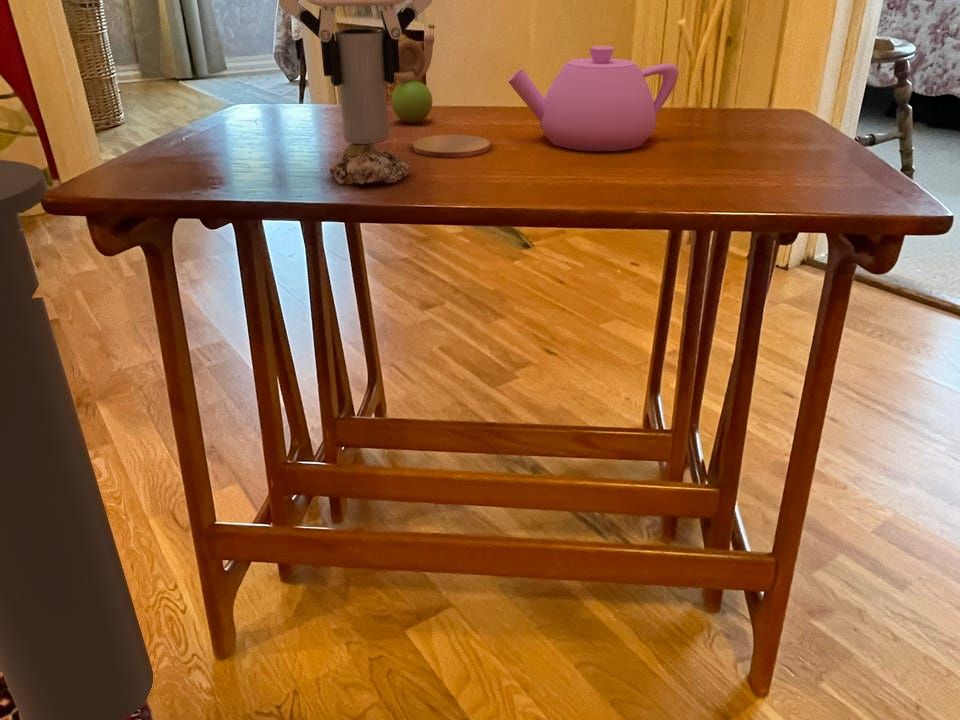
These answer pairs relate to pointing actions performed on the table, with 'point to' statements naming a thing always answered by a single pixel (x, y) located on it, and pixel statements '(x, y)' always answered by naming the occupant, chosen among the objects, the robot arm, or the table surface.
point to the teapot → (598, 102)
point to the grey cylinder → (362, 85)
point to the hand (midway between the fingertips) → (362, 80)
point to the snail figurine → (413, 80)
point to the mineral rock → (368, 166)
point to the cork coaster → (451, 146)
